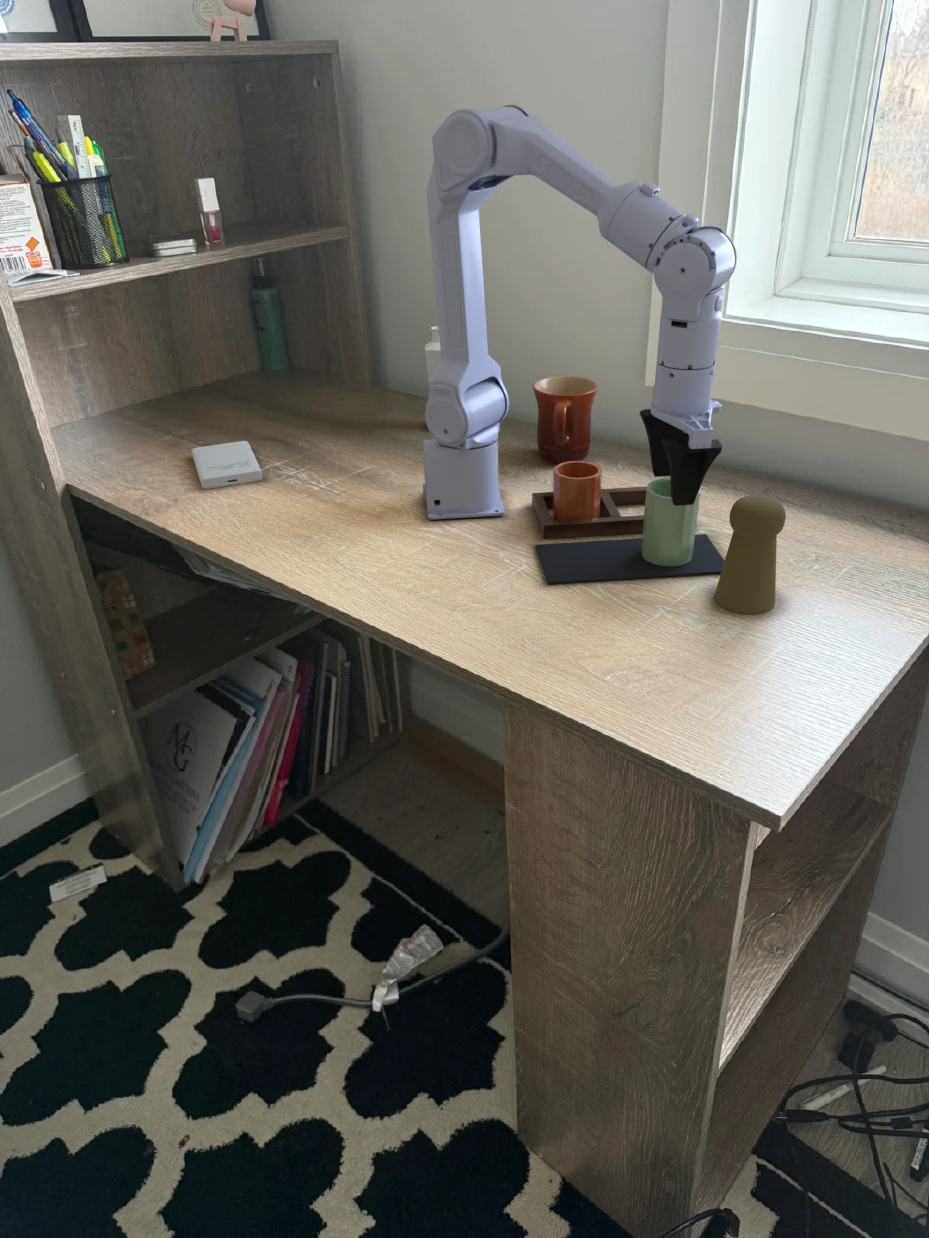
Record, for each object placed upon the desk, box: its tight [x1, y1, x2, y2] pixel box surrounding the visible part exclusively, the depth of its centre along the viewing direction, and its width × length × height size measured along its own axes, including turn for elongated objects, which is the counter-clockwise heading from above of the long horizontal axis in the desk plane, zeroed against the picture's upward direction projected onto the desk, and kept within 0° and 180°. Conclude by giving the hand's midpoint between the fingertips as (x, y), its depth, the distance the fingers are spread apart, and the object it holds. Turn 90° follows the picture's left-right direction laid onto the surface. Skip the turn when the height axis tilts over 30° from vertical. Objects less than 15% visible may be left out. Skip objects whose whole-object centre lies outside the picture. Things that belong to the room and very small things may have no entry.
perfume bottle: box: [424, 325, 441, 383], centre depth 135 cm, size 5×4×15 cm
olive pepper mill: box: [713, 494, 787, 615], centre depth 89 cm, size 6×6×11 cm
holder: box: [531, 486, 647, 540], centre depth 109 cm, size 18×9×2 cm, turn 94°
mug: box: [532, 375, 599, 465], centre depth 123 cm, size 12×9×10 cm
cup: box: [641, 477, 702, 566], centre depth 98 cm, size 6×6×8 cm
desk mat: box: [535, 533, 725, 586], centre depth 100 cm, size 20×9×1 cm, turn 94°
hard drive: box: [190, 440, 264, 490], centre depth 126 cm, size 2×8×12 cm
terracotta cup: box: [551, 460, 603, 521], centre depth 107 cm, size 6×6×6 cm
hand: (672, 489), depth 96 cm, fingers open, 7 cm apart
